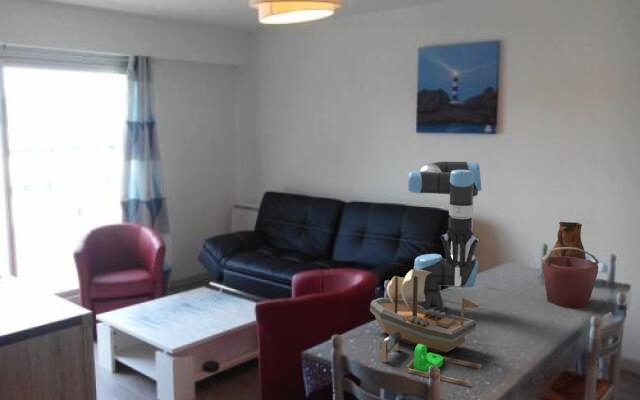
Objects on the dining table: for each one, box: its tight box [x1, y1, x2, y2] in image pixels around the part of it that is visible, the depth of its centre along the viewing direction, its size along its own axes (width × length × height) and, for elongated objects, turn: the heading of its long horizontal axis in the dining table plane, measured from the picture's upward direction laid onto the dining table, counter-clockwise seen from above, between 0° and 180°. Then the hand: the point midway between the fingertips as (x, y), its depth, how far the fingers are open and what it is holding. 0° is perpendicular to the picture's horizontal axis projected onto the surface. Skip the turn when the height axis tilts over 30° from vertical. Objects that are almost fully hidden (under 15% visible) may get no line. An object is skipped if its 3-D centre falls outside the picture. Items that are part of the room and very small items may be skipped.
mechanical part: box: [413, 344, 444, 372], centre depth 191 cm, size 12×6×8 cm, turn 144°
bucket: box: [540, 247, 600, 309], centre depth 259 cm, size 24×22×25 cm
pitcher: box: [550, 221, 587, 260], centre depth 291 cm, size 17×21×30 cm
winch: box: [379, 330, 402, 363], centre depth 200 cm, size 4×13×7 cm, turn 151°
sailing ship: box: [369, 268, 481, 354], centre depth 210 cm, size 16×45×27 cm, turn 47°
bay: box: [405, 352, 482, 387], centre depth 189 cm, size 21×15×2 cm
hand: (457, 284), depth 195 cm, fingers closed
